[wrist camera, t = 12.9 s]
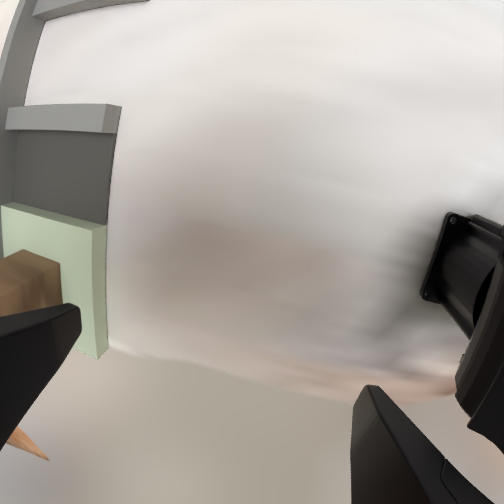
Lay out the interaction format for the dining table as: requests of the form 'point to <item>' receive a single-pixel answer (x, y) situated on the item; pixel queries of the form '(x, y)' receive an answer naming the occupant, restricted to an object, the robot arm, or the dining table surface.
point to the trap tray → (56, 173)
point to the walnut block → (28, 283)
